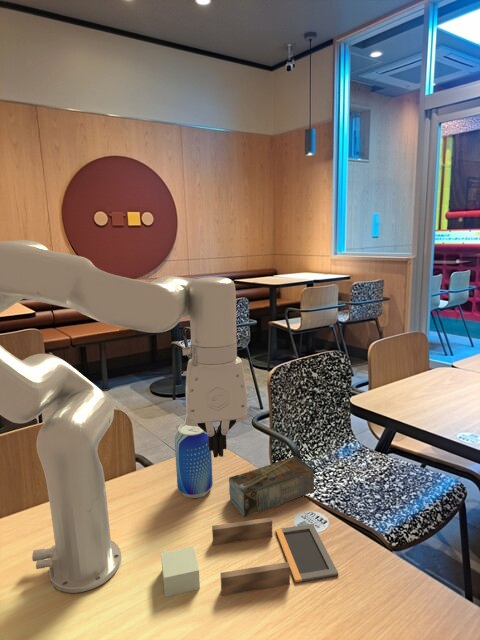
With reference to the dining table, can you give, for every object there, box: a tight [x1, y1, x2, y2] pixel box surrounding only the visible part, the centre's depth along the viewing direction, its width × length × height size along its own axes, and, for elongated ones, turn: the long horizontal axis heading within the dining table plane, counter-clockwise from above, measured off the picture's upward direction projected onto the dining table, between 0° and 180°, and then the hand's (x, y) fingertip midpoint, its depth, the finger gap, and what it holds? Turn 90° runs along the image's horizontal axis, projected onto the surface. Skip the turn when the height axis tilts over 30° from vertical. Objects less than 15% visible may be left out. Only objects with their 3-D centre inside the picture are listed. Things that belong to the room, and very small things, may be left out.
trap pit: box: [275, 523, 339, 584], centre depth 84 cm, size 8×13×1 cm, turn 10°
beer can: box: [174, 422, 214, 499], centre depth 103 cm, size 8×8×16 cm
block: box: [160, 545, 201, 598], centre depth 78 cm, size 6×6×4 cm
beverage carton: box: [228, 455, 315, 518], centre depth 101 cm, size 8×19×7 cm, turn 117°
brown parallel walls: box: [211, 517, 291, 596], centre depth 81 cm, size 12×13×4 cm
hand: (217, 453), depth 76 cm, fingers closed
